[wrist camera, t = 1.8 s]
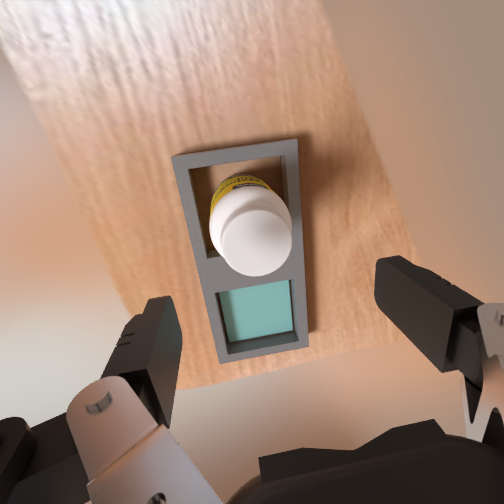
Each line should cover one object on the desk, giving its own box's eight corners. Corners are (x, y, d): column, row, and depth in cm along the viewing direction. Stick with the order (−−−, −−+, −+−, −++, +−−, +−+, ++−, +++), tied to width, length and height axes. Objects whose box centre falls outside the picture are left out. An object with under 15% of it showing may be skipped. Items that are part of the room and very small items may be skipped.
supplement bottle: (259, 162, 23) (289, 180, 14) (280, 219, 25) (317, 267, 16) (199, 187, 23) (191, 221, 14) (225, 242, 25) (232, 302, 16)
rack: (174, 155, 22) (171, 157, 20) (291, 138, 22) (297, 138, 21) (219, 351, 30) (219, 363, 28) (303, 335, 31) (308, 346, 29)
